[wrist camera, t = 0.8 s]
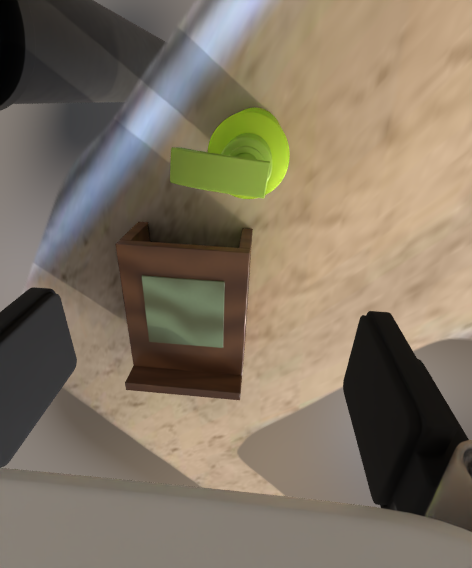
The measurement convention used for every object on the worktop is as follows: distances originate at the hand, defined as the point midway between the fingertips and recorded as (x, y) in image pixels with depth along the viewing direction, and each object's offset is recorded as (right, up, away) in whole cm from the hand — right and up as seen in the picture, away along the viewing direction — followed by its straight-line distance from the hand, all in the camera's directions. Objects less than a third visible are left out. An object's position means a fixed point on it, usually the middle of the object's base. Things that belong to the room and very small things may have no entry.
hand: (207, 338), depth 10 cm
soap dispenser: (+2, +17, +25) cm, 30 cm away
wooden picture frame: (-4, +1, +34) cm, 34 cm away
